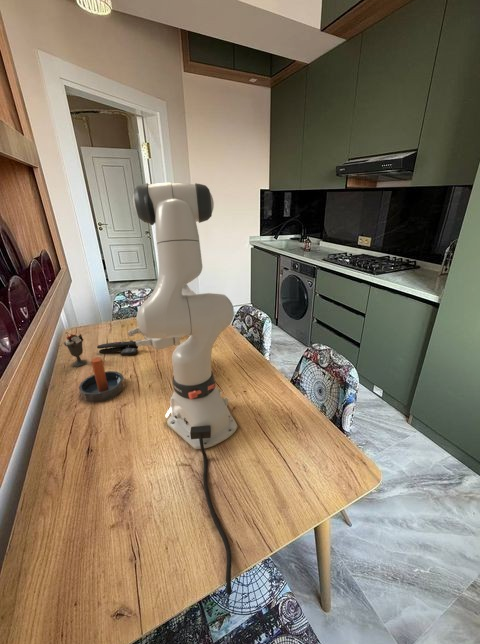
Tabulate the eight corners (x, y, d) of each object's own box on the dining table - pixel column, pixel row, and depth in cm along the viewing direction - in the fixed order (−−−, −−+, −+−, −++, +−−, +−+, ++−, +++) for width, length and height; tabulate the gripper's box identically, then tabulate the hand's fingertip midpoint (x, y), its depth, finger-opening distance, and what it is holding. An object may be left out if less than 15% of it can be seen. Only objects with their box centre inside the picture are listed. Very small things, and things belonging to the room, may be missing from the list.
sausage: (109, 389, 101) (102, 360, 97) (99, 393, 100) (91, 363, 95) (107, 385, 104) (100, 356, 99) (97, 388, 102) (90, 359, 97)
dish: (129, 392, 101) (127, 384, 100) (85, 408, 93) (82, 399, 92) (119, 375, 111) (117, 367, 109) (78, 387, 103) (76, 379, 102)
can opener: (142, 349, 130) (140, 338, 127) (136, 357, 123) (133, 345, 121) (103, 348, 130) (100, 337, 127) (94, 356, 123) (91, 344, 121)
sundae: (67, 369, 114) (58, 334, 108) (73, 360, 120) (64, 327, 114) (86, 366, 116) (77, 333, 110) (90, 358, 122) (82, 326, 116)
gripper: (159, 313, 117) (122, 321, 109) (179, 331, 102) (139, 341, 94) (161, 327, 119) (125, 335, 111) (181, 346, 104) (142, 358, 97)
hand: (132, 338), depth 103 cm, fingers open, 8 cm apart
